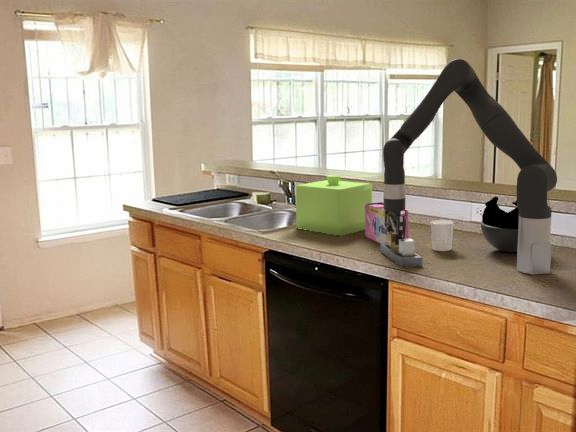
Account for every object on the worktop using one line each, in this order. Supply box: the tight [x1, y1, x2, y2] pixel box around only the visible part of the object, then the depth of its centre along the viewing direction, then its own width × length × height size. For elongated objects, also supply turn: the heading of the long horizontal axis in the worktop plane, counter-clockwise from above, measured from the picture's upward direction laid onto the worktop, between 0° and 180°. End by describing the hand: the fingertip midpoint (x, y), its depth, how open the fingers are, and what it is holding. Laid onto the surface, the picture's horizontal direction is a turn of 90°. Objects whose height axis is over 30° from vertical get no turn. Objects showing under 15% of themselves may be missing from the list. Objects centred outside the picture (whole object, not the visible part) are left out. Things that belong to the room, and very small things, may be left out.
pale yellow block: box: [387, 232, 399, 249], centre depth 209 cm, size 4×4×8 cm
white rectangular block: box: [399, 237, 416, 257], centre depth 198 cm, size 4×4×8 cm
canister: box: [294, 174, 373, 237], centre depth 256 cm, size 25×21×23 cm
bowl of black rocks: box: [480, 196, 519, 253], centre depth 208 cm, size 20×20×19 cm
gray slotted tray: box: [379, 243, 423, 269], centre depth 204 cm, size 22×7×3 cm, turn 10°
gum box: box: [364, 201, 409, 244], centre depth 229 cm, size 24×8×14 cm, turn 17°
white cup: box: [430, 219, 454, 252], centre depth 215 cm, size 8×8×10 cm
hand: (394, 242), depth 209 cm, fingers open, 8 cm apart
